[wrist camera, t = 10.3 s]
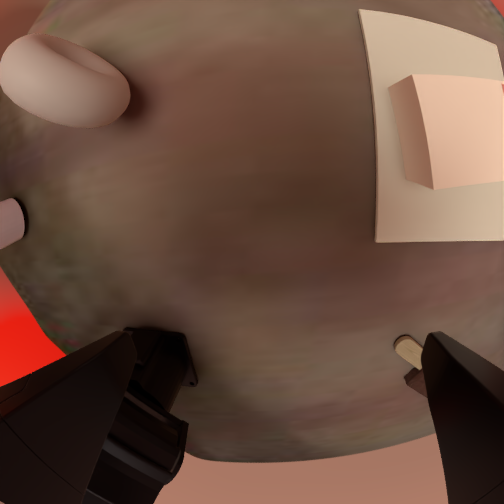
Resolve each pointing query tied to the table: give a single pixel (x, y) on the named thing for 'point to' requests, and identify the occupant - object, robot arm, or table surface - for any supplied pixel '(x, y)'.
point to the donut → (63, 82)
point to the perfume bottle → (10, 222)
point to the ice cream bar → (413, 355)
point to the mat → (388, 142)
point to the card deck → (450, 129)
